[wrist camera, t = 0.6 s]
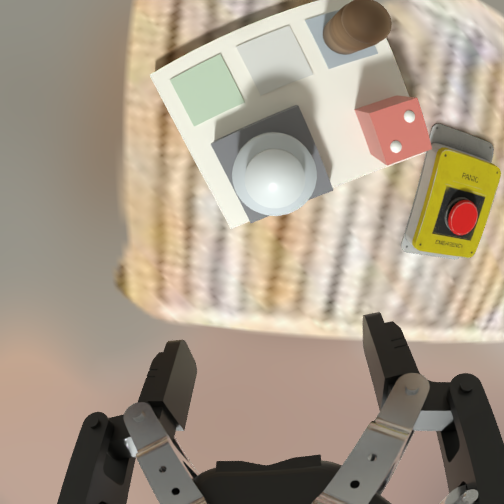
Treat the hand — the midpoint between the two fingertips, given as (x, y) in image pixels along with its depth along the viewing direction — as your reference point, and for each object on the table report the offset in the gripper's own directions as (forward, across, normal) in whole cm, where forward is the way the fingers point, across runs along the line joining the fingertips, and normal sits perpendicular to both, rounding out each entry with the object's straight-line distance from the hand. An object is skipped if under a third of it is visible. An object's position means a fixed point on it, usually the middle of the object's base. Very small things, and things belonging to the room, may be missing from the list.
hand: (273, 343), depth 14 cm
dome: (+17, -1, -3) cm, 17 cm away
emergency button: (+21, -20, +3) cm, 29 cm away
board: (+20, -4, -8) cm, 22 cm away
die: (+19, -12, -6) cm, 23 cm away
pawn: (+19, -9, -14) cm, 25 cm away
